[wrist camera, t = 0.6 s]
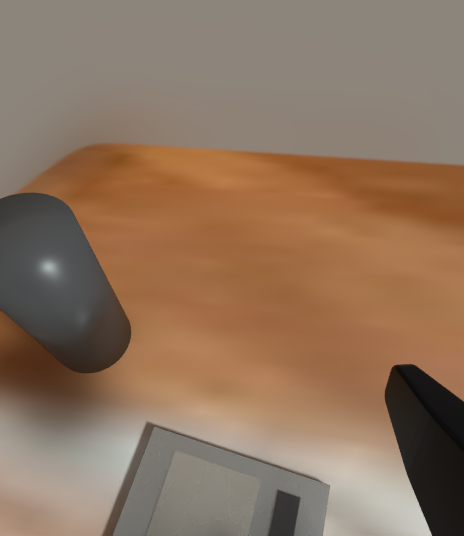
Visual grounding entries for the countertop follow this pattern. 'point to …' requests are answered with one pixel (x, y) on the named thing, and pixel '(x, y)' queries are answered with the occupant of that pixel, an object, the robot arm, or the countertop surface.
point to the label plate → (217, 494)
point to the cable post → (58, 284)
